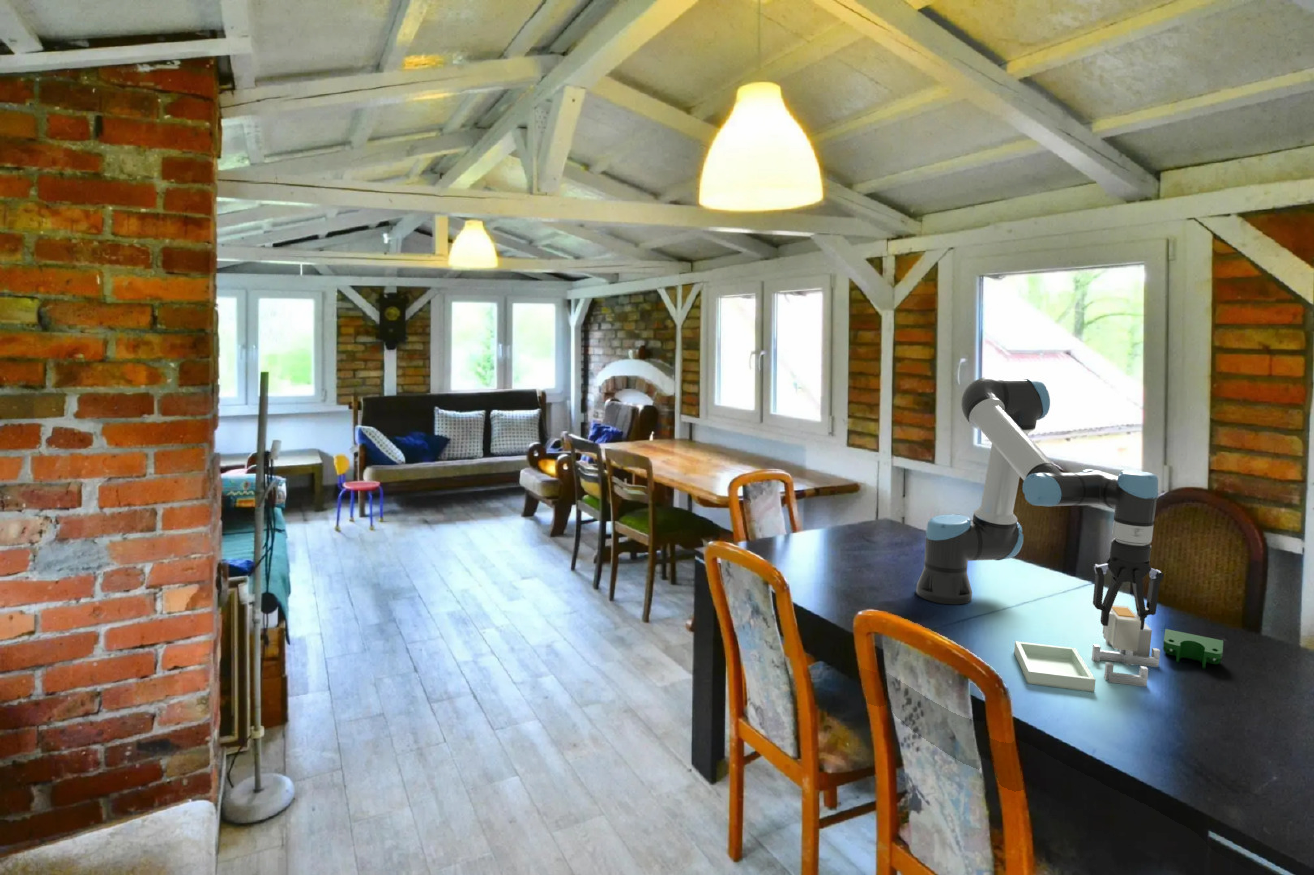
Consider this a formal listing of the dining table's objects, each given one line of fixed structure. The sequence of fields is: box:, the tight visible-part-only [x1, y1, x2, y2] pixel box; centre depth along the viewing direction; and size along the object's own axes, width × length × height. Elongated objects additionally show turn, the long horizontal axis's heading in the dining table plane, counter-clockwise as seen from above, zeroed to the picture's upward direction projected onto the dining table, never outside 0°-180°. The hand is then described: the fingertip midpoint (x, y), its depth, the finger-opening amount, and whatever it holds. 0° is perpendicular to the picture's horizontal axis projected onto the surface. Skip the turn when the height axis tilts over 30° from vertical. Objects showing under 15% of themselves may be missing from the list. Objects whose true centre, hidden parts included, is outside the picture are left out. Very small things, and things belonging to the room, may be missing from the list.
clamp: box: [1162, 628, 1224, 669], centre depth 176 cm, size 12×6×9 cm, turn 46°
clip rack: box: [1091, 640, 1161, 688], centre depth 175 cm, size 14×26×4 cm, turn 164°
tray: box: [1013, 640, 1096, 693], centre depth 170 cm, size 13×17×3 cm
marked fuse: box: [1102, 604, 1141, 652], centre depth 169 cm, size 5×9×7 cm, turn 164°
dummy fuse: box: [1117, 622, 1153, 656], centre depth 179 cm, size 5×9×8 cm, turn 164°
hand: (1120, 640), depth 170 cm, fingers closed on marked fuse, 4 cm apart
